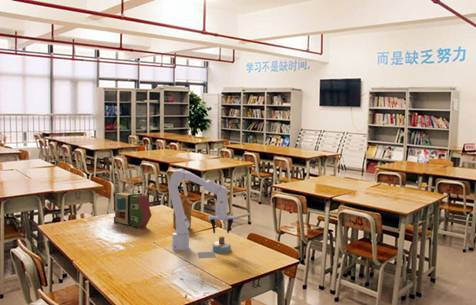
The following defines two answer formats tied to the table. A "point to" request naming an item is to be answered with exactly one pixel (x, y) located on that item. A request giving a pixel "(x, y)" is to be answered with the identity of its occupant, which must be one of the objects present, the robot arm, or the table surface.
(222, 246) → the lid
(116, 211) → the model house
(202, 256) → the mat
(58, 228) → the table surface
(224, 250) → the bowl
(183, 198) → the coffee package
